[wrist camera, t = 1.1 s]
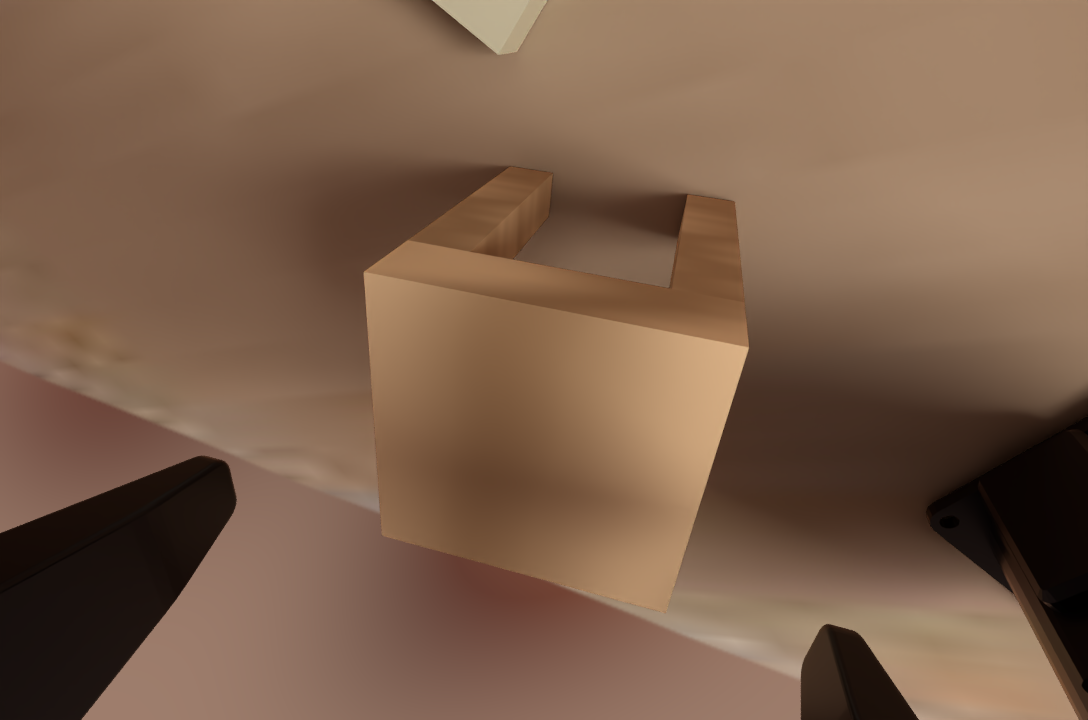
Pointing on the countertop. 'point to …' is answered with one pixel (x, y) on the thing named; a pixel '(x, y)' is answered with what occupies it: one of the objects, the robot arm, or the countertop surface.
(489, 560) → the maple stool
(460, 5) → the sage board
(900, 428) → the countertop surface
